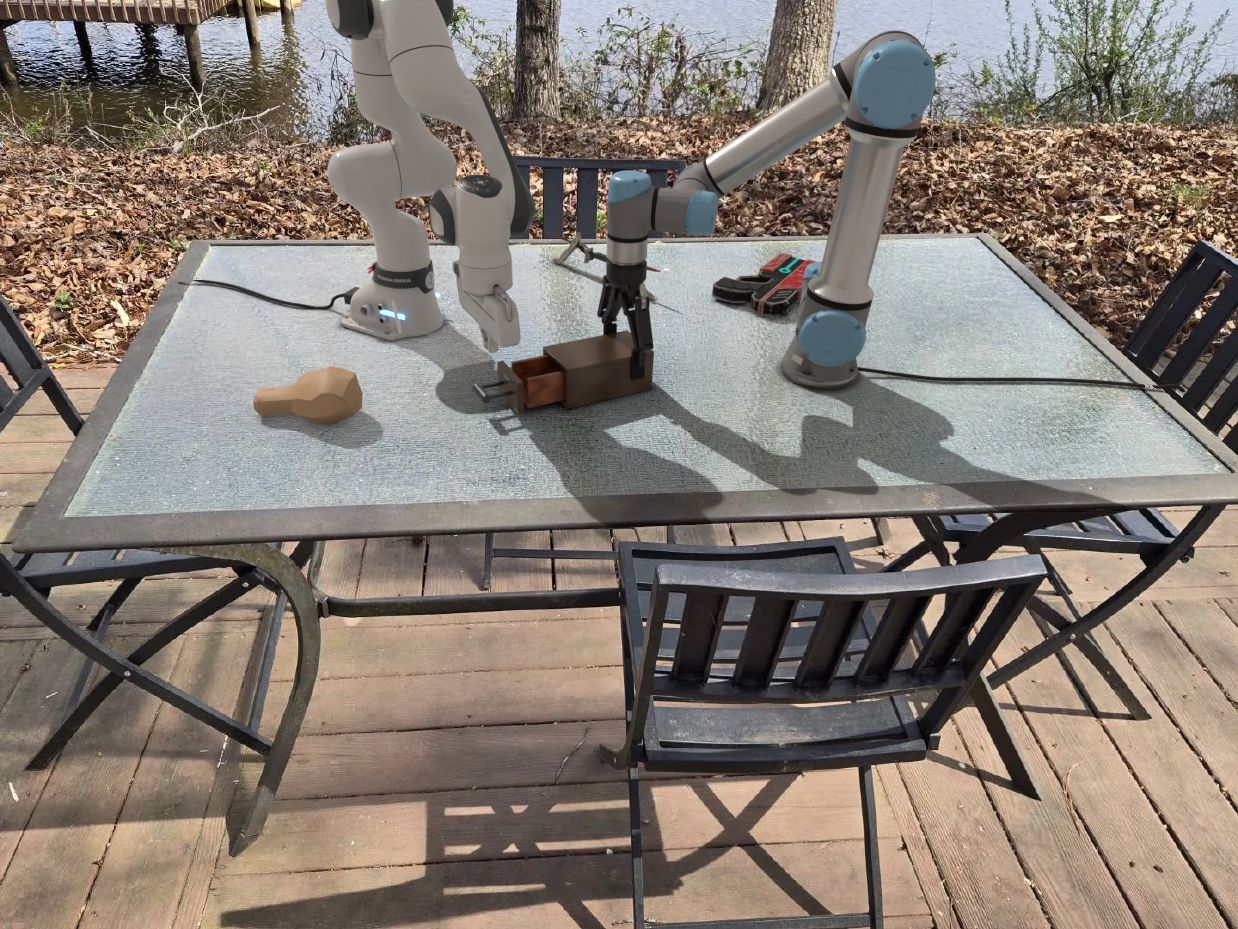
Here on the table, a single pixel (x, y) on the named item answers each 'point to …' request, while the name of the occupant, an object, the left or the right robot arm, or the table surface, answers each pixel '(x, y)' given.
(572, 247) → the bow
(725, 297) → the gun
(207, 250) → the table surface
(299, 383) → the squash
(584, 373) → the cabinet
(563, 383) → the drawer
